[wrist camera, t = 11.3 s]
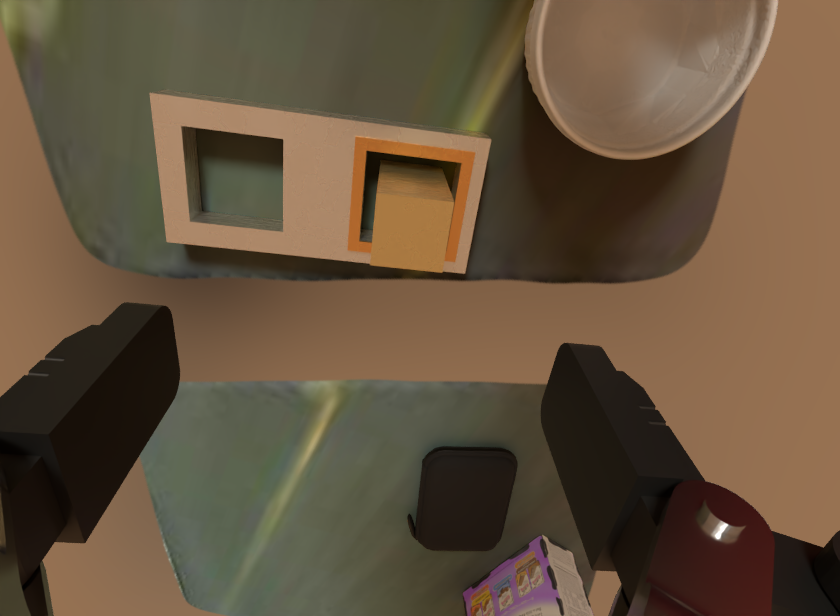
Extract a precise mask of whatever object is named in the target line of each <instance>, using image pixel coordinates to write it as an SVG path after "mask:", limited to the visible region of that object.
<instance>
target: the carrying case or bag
mask: <svg viewBox="0 0 840 616" xmlns="http://www.w3.org/2000/svg"><path fill="white" fill-rule="evenodd" d="M516 471H517V460H516V457H515V456H514V454H513V453H512V452H510V451H509V450H506V449H503V448H491V447H447V446H443V447H438V448H435V449H433V450H432V451H431V452H429V453H428V454H427V455H426V456H425V458H424V459H423V460H422V472H421V481H420V490H419V499H418V508H417V517H416V526H414V523H413V520H412V517H411V515H410V514H409V515H408V525H409V528H410V531H411V534H412V536H413V537H414V538H415V539H416V540H418V541H419V542H420V543H421V544H422V545H423V546H424V547H425V548H427V549H430V550H447V551H487V550H491V549H493V548H494V547H495V546H496V545H497V543H498V542H499V541H500V539H501V536H502V532H503V528H504V524H505V519H506V515H507V511H508V506H509V502H510V498H511V493H512V489H513V485H514V480H515V476H516Z"/></svg>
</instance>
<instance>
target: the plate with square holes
mask: <svg viewBox="0 0 840 616" xmlns="http://www.w3.org/2000/svg"><path fill="white" fill-rule="evenodd" d="M150 101H151V110H152V118H153V127H154V136H155V144H156V153H157V161H158V170H159V179H160V187H161V196H162V205H163V213H164V222H165V230H166V239H167V242H172V243H181V244H191V245H200V246H209V247H219V248H228V249H238V250H247V251H256V252H266V253H275V254H284V255H294V256H303V257H313V258H322V259H331V260H341V261H350V262H359V263H369V264H370V259H371V248H372V238H373V230H366V229H361V227H362V215H363V203H364V191H365V179H366V167H367V154H368V151H374V152H381V153H389V154H397V155H404V156H412V157H420V158H427V159H435V160H443V161H450V162H456V166H455V172H454V178H453V184H452V190H451V194H452V197H453V200H454V207H453V213H452V219H451V225H450V231H449V237H448V242H447V248H446V254H445V260H444V266H443V271H444V272H453V273H463V274H465V271H466V266H467V261H468V256H469V251H470V246H471V241H472V236H473V231H474V225H475V220H476V215H477V210H478V205H479V200H480V195H481V190H482V185H483V180H484V175H485V169H486V164H487V159H488V154H489V149H490V144H491V138H490V137H489V136H488V135H487V134H486V133H480V132H473V131H466V130H458V129H451V128H444V127H437V126H429V125H422V124H415V123H407V122H400V121H393V120H386V119H378V118H371V117H364V116H357V115H349V114H342V113H335V112H327V111H320V110H313V109H306V108H298V107H291V106H284V105H276V104H269V103H262V102H255V101H247V100H240V99H233V98H225V97H218V96H211V95H204V94H196V93H189V92H182V91H175V90H167V89H165V90H160V91H156V92H151V93H150ZM196 128H202V129H210V130H217V131H225V132H233V133H240V134H248V135H256V136H263V137H271V138H279V139H283V220H278V219H269V218H260V217H251V216H243V215H234V214H225V213H216V212H207V211H202V204H201V191H200V178H199V165H198V152H197V139H196Z"/></svg>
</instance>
